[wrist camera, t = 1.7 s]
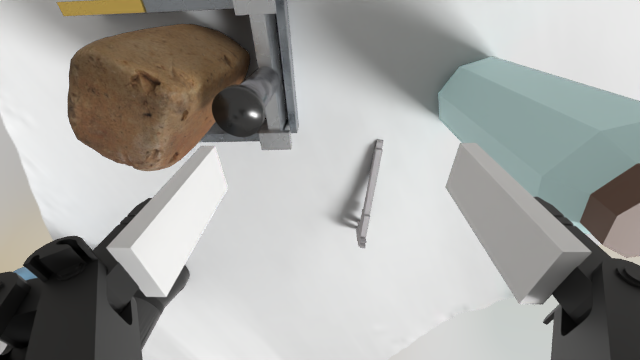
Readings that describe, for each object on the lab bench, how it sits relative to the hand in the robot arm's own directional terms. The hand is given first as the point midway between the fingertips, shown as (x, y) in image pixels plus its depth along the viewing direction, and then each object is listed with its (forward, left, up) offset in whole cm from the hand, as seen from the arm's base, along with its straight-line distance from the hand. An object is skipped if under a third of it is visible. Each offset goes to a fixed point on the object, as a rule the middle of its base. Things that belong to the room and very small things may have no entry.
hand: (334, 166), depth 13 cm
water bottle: (+19, -4, -25) cm, 32 cm away
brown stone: (-16, 0, -25) cm, 29 cm away
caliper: (+6, -21, -25) cm, 33 cm away
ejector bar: (-8, 0, -24) cm, 26 cm away
